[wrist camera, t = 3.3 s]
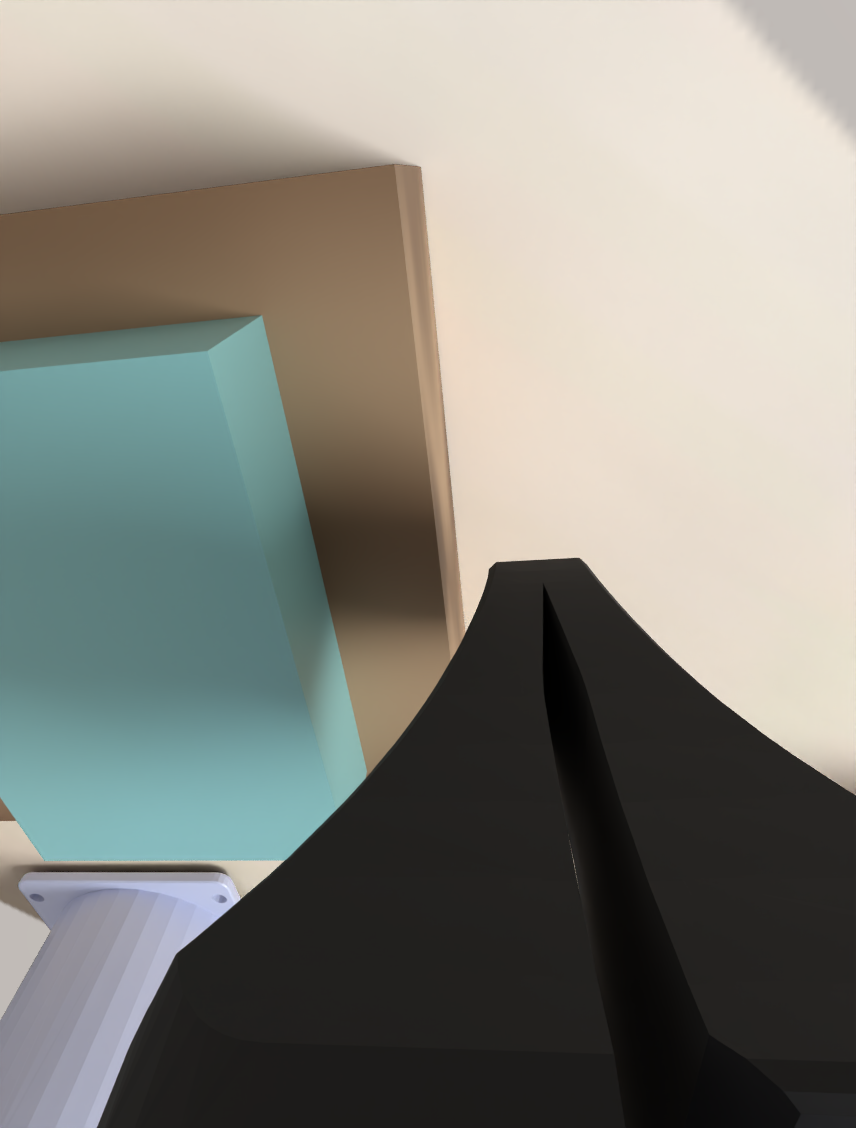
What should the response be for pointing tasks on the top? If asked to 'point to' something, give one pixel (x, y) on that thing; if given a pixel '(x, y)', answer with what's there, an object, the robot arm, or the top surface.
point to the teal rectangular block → (162, 603)
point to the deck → (297, 380)
